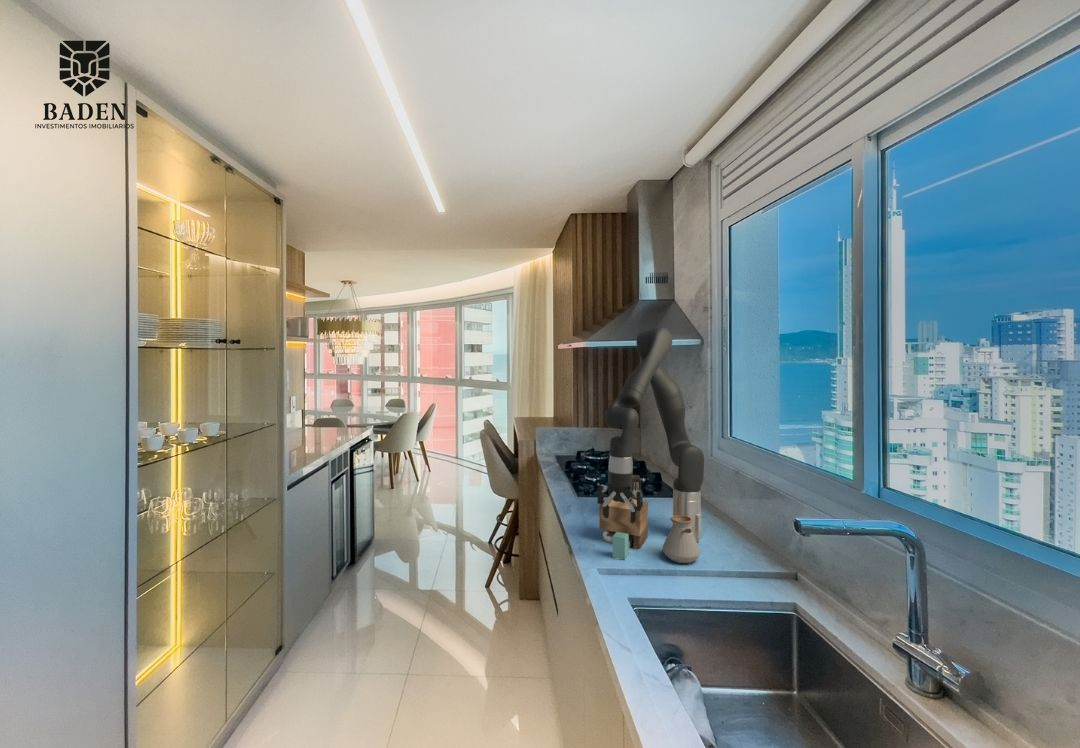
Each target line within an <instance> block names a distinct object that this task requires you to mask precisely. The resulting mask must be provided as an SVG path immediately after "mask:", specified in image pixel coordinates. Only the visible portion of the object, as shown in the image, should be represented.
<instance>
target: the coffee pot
mask: <svg viewBox="0 0 1080 748" xmlns="http://www.w3.org/2000/svg"><path fill="white" fill-rule="evenodd" d="M669 519H670V521H671V522H672V526H671V528H670V530H669V532H668V534H667V536H666V538H665V540H664V543H663V544H662V551H663V553H664V555H665V556H666V557H667V558H668V559H669V558H670V559H671V560H670V559H669V560H670V561H672V560H673V561H675V562H674V563H676V562H679V563H678V564H681V563H689V564H692V563H693V562H695V560H696V561H697V559H698V558H699V557H700V555H701V549H700V546H699V544H698V542H696V539H695V537H694V534H695V533H694V534H693V532H692V529H691V527H690V524H691V522H692V518H690V517H688V516H683V515H674V516H673V515H672V516H670V517H669ZM673 561H672V562H673ZM691 562H692V563H691Z"/></svg>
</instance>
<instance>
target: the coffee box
mask: <svg viewBox="0 0 1080 748" xmlns="http://www.w3.org/2000/svg"><path fill="white" fill-rule="evenodd" d="M632 488H633V490H635V491H639V490H642V479H641V477H640V475H638V474H633V476H632ZM631 498H632V499H634V500H637V498H636V497H635V495H634V494H633V495H632V496H631Z"/></svg>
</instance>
